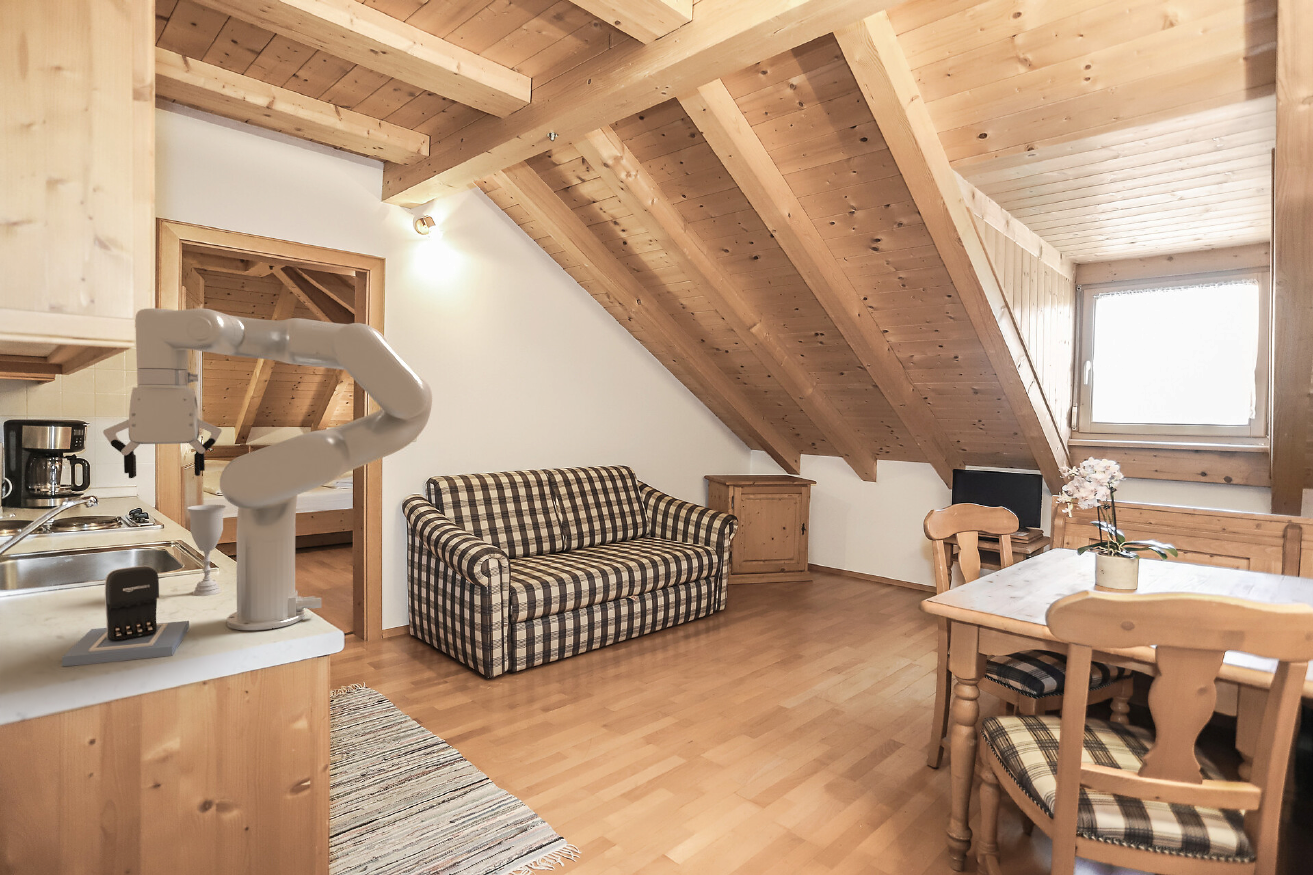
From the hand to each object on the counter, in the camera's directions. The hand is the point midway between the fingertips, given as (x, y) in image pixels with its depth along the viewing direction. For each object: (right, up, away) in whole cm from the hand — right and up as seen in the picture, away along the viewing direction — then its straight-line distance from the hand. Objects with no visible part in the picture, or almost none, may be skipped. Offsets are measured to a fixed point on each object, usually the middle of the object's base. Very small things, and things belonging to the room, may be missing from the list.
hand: (165, 476), depth 127 cm
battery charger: (+1, -26, -10) cm, 28 cm away
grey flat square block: (+1, -27, -10) cm, 29 cm away
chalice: (-7, -26, +23) cm, 35 cm away
